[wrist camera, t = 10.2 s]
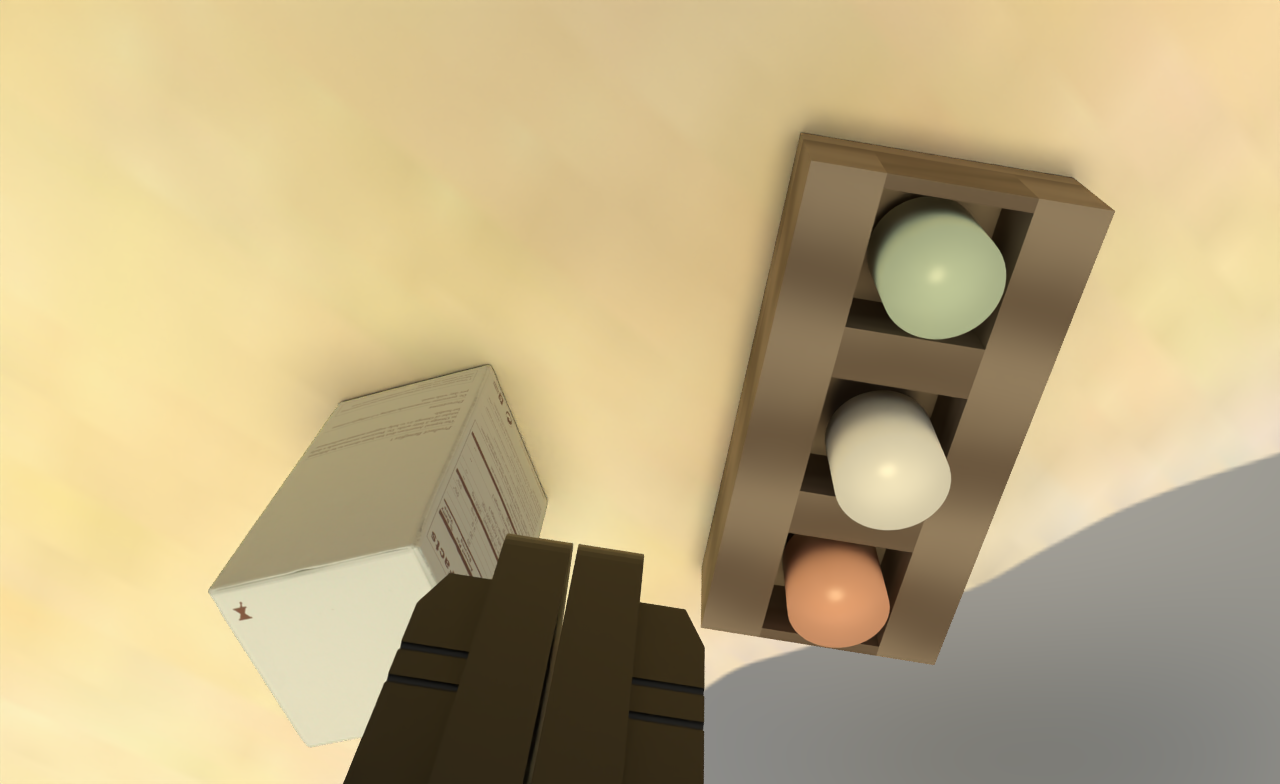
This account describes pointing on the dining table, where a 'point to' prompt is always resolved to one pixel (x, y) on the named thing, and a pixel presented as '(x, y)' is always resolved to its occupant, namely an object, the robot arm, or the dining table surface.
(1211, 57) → the dining table surface
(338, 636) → the supplement box
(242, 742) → the dining table surface
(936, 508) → the cream pill shape
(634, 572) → the robot arm
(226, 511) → the dining table surface
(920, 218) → the sage button
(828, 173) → the frame
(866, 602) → the terracotta button
